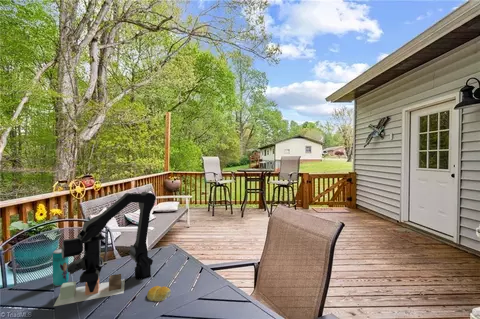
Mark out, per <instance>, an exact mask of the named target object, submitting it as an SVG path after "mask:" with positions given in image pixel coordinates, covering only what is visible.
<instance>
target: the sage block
mask: <svg viewBox="0 0 480 319" xmlns="http://www.w3.org/2000/svg"><path fill="white" fill-rule="evenodd" d="M76 288H77V281H68V282H67V283H63V284H62V285H60V288H59V295H60V300H63V299H68V298H74V296H75V293H76Z"/></svg>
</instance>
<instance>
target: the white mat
mask: <svg viewBox="0 0 480 319" xmlns="http://www.w3.org/2000/svg"><path fill="white" fill-rule="evenodd" d="M125 281H126V279H125V278H123V279H121V289H117V290H112V291H109V281H107V282H101V283H100V282H99V291H98V293H95V294H90V295H85V285H84V286H78V287H77V286H76V293H75V296H74V298H68V299H63V300H60V294H59V295H58V297H57V299H56V301H55V302H54V305H52V306H53V307H58V306H63V305H70V304H75V303H79V302H83V301H84V302H85V301H89V300H95V299H101V298H105V297H111V296H116V295H120V294H125V293H124V292H125Z"/></svg>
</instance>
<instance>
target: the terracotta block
mask: <svg viewBox="0 0 480 319" xmlns="http://www.w3.org/2000/svg"><path fill="white" fill-rule="evenodd" d="M99 284H100V277H99V278H98V281H97V283H96V286H95V289H94V291H93V292H90V290H89V287H88V284H87V282H85V284H84V286H85V295H90V294H95V293H98V291H99Z"/></svg>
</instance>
